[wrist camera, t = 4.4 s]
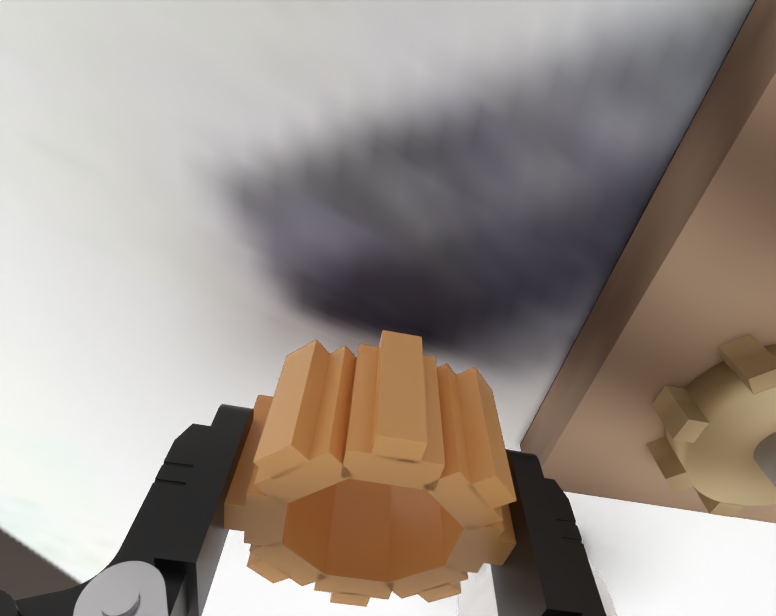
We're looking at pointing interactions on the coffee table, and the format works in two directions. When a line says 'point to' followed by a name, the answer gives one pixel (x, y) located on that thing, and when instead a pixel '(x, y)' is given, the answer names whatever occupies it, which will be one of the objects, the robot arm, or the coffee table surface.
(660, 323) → the gear board
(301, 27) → the coffee table surface
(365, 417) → the gear
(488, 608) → the water bottle
